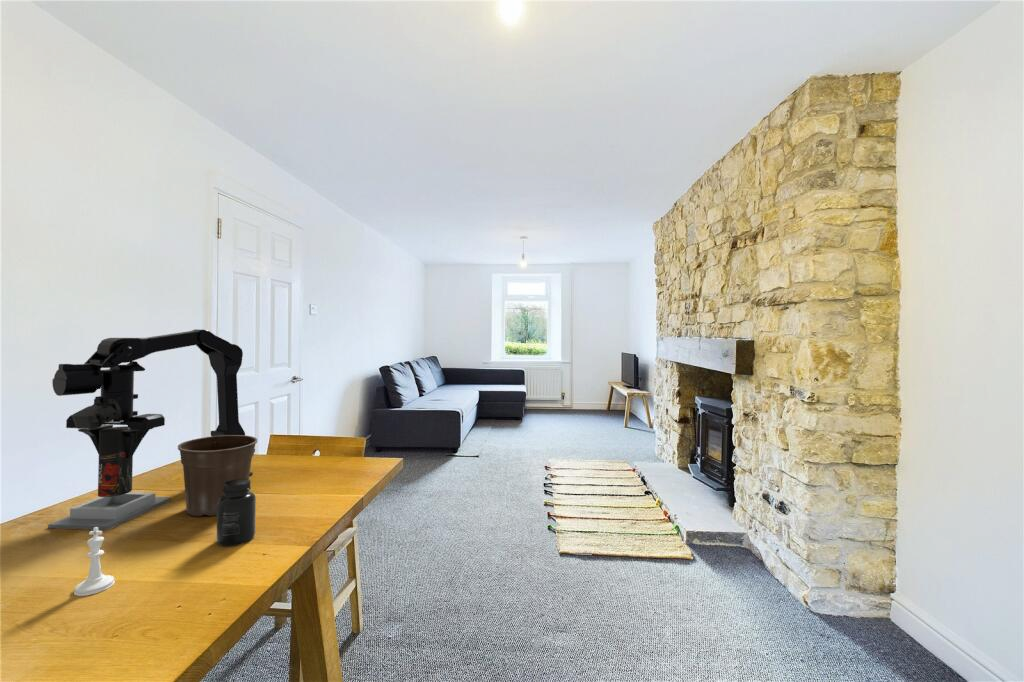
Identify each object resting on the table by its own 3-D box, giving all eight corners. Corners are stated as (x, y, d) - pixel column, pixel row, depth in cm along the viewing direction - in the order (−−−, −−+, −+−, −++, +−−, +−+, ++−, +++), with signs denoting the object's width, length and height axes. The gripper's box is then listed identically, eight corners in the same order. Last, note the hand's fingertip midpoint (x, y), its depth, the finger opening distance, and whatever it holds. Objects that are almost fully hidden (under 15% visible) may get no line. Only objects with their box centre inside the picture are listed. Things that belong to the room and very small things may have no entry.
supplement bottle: (262, 535, 92) (264, 479, 92) (232, 549, 86) (234, 489, 86) (239, 529, 94) (240, 475, 94) (208, 543, 88) (209, 484, 88)
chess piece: (91, 579, 74) (93, 521, 74) (122, 578, 75) (123, 521, 75) (64, 596, 70) (66, 534, 69) (97, 595, 70) (99, 534, 70)
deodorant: (138, 489, 104) (140, 427, 104) (113, 498, 98) (115, 432, 98) (116, 487, 105) (118, 425, 105) (90, 496, 99) (91, 431, 99)
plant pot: (270, 502, 110) (272, 439, 110) (202, 526, 95) (204, 454, 95) (230, 491, 117) (231, 432, 117) (161, 512, 102) (162, 444, 102)
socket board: (171, 500, 110) (171, 488, 110) (107, 529, 93) (107, 515, 93) (120, 498, 110) (120, 487, 110) (48, 528, 93) (48, 514, 93)
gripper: (40, 394, 94) (38, 466, 94) (125, 396, 93) (123, 468, 93) (91, 388, 105) (89, 452, 105) (167, 390, 104) (165, 455, 105)
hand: (115, 457), depth 102 cm, fingers closed on deodorant, 6 cm apart
